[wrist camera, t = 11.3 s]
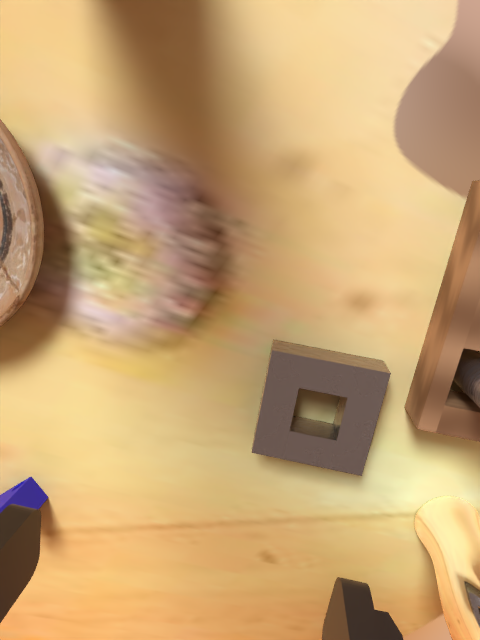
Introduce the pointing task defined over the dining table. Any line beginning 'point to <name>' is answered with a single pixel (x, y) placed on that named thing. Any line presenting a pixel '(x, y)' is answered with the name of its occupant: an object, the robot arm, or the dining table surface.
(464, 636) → the beer glass
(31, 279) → the ceramic bowl
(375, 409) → the socket block
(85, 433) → the dining table surface
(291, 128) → the dining table surface
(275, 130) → the dining table surface
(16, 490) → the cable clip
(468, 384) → the round metal peg
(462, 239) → the rack
